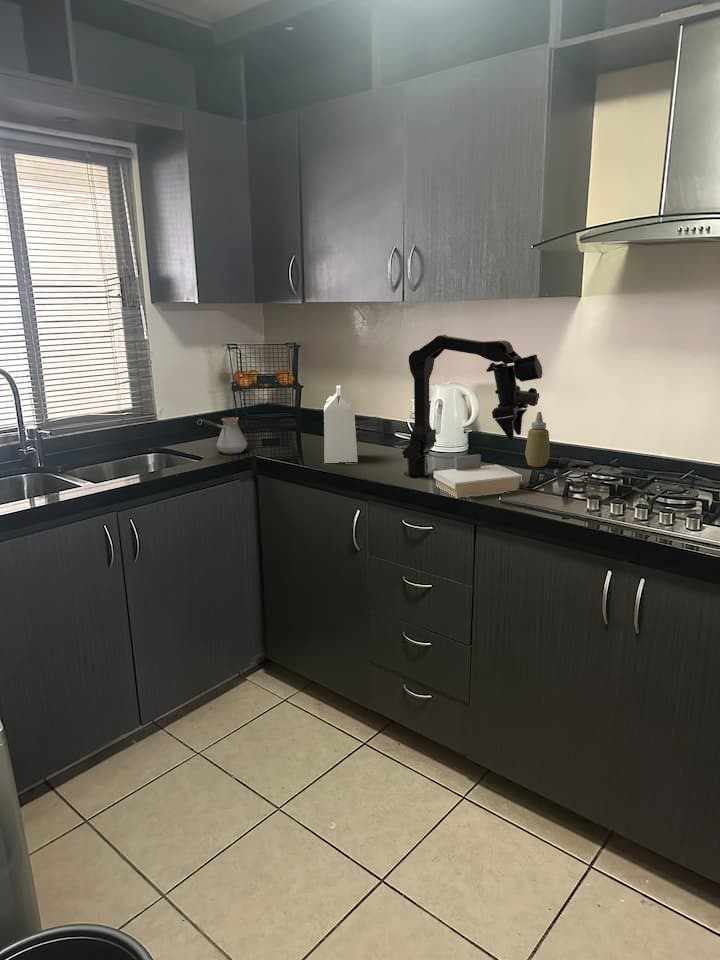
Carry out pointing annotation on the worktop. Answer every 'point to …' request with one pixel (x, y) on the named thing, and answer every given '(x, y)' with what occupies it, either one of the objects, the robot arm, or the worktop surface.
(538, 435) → the squeeze bottle
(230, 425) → the coffee pot
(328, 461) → the milk
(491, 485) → the mailer box
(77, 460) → the worktop surface
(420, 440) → the robot arm
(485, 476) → the lid
